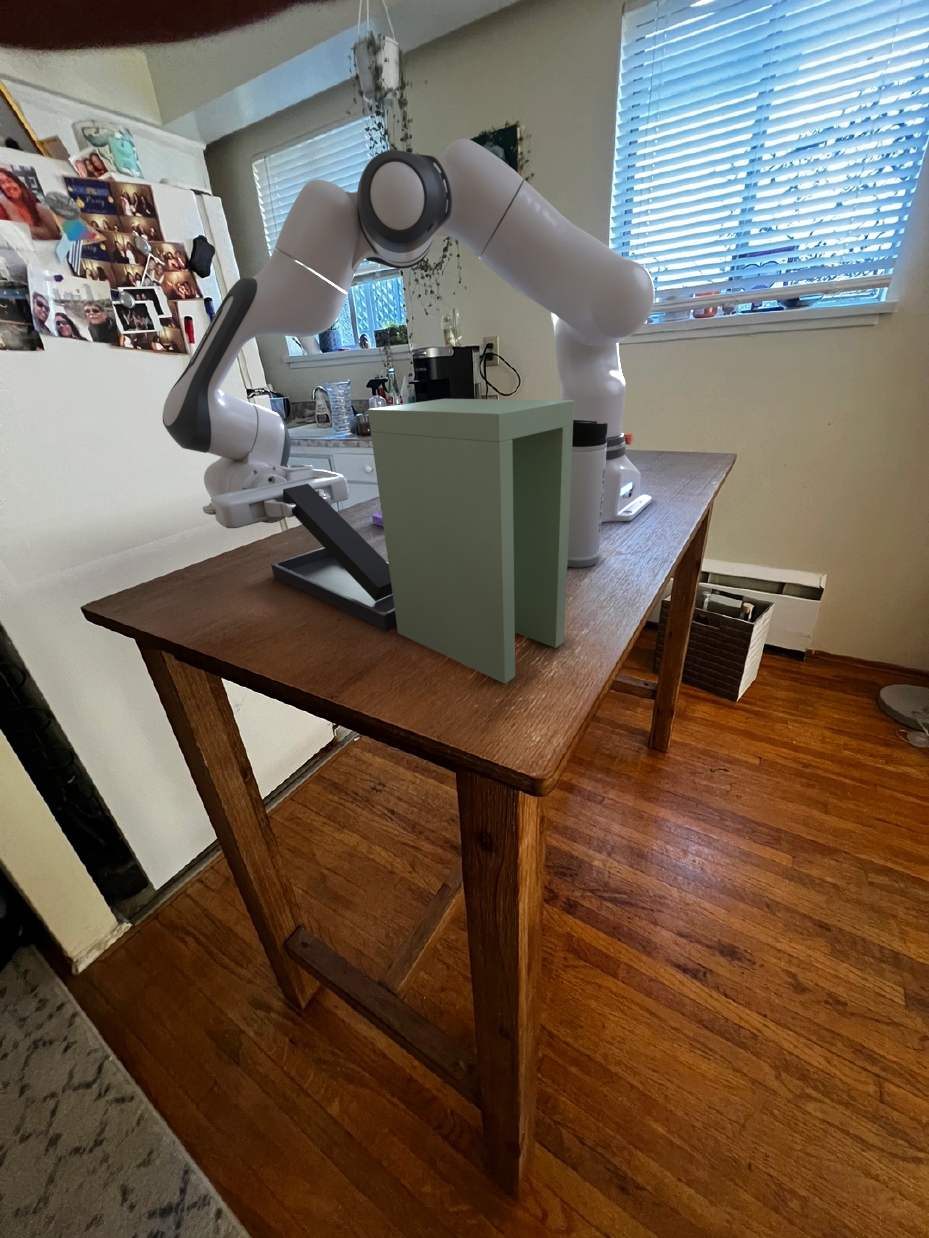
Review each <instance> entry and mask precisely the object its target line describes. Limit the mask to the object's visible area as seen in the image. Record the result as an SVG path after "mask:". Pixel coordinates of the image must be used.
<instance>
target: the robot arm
mask: <svg viewBox="0 0 929 1238" xmlns="http://www.w3.org/2000/svg"><path fill="white" fill-rule="evenodd" d="M437 237H449V238H452V239H454V240H456V241H457V242H459V243H462V244H463V245H464V246H465V247H466V248H467V249H468V250H469V251H470V252H471V253H473V254H474V255H475V257H477V258H478V259H479V260H480V261H481V262H482V263H484V264H485V265H486V266H487V267H488V268H490V269H491V270H492V271H493V272H494V273H495V274H496V275H498V277H500V278H501V279H502V280H503V281H505V282H506V283H507V284H508V285H509V286H511V288H513V289H514V290H515V291H517V292H518V293H519V294H520V295H522V296H524V297H526V298H527V299H530V300H532V301H533V302H535V304H538V305H539V306H541V307H543V308H544V309H546V310H547V311H548V312H550V322H551V327H552V328H553V336H554V337H553V338H554V346H555V347H554V349H555V360H556V366H557V367H556V368H557V375H558V390H559V393H558V396H559V397H558V400H574V413H573V420H585V421H597V423H608V429H607V435H606V437H607V446H606V463H605V477H604V491H603V505H602V519H601V523H606V522H629V521H632V520H634V519H635V518H636V517H637V516H638V515H639V514H640V513H641V512H642V511H643V510H645V508H647V506H648V505H650V504H651V503H652V496H651V495H648V494H645V493H641V481H642V478H641V472H640V470H638V468H637V467H636V466H635V465H634V464H633V463H632V462H631V460H630V459H629V458H628V457H627V456H626V455H625V454H627V447H626V446H631V445H632V443H633V441H634V440H633V439H634V435H633V433H631V432H630V433H625V432H623V426H624V417H625V403H626V402H625V401H626V390H627V387H626V386H627V384H626V380H625V378H624V376H623V373H622V368H621V361H620V353H619V352H620V351H619V344H621V343H622V342H623V341H625V340H627V339H628V338H630V337H632V336H633V335H634V334H635V333H636V332H638V331H639V330H640V329H641V328H642V327H643V326H644V325H645V324H646V322H647V320H648V319H649V317H650V315H651V313H652V310H653V307H654V302H655V285H654V281H653V279H652V277H651V274H650V273H649V271H648V270H647V268H646V267H645V266H644V265H642V264H641V263H639V262H637V261H635V260H633V259H629V258H626V257H624V256H622V255H621V254H619V253H618V252H616V251H615V250H613V249H612V248H611V247H609V246H608V245H606V244H605V243H604V242H603V241H600V240H599V239H597V237H594V236H593V235H591V234H589V233H588V232H587V231H585V230H583V229H581V228H580V227H578V226H577V225H576V224H574V223H573V222H571V221H570V220H569V219H567V218H566V217H565V216H564V215H563V214H562V213H560V212H559V210H557V208H555V207H554V206H553V205H552V204H551V203H550V202H549V201H548V200H547V199H546V198H545V197H543V195H541V194H540V193H539V192H538V191H537V189H535V188H534V187H533V186H532V185H531V184H530V183H529V182H527V180H526V179H524V177H522V176H521V175H520V174H519V173H518V172H517V171H516V170H515V169H514V168H512V167H511V166H510V165H509V164H507V163H506V162H505V161H504V160H503V159H501V158H500V157H499V156H498V155H496V154H495V153H493V152H491V151H490V150H488V149H487V148H486V147H484V146H483V145H480V144H478V143H477V142H475V141H474V140H471V139H469V138H458V139H456V140H454V141H453V142H451V143H450V144H448V145H447V146H446V148H444V150H443V151H442V152H441V153H440V155H439V157H438V158H436V157H435V156H433V155H428V154H421V153H413V152H410V151H405V150H399V149H389V150H385V151H382V152H379V153H378V154H376V155H375V156H373V157H372V159H370V160H369V162H367V164H366V166H365V167H364V169H363V171H362V172H361V175H360V178H359V182H358V186H357V191H355V192H350V191H347V190H345V189H344V188H343V187H340V186H339V185H337V184H335V183H333V182H332V181H327V180H323V179H314V180H311V181H309V182H307V183H306V184H304V186H302V188H301V190H300V192H299V193H298V195H297V197H296V198H295V200H294V202H293V203H292V206H291V207H290V209H289V211H288V214H287V216H286V218H285V220H284V222H283V225H282V227H281V229H280V232H279V235H278V237H277V239H276V242H275V245H274V249H273V251H272V253H271V256H270V258H269V259H268V261H267V263H266V264H265V265H264V267H262V269H261V270H260V271H259V272H258V273H256V274H255V275H254V276H252V277H241V278H239V279H238V280H237V281H236V282H234V284H233V285H232V286H231V287H230V289H229V290H228V292H227V294H226V295H225V296H224V298H223V300H222V301H221V303H220V305H219V306H218V308H217V310H216V312H215V313H214V315H213V317H212V319H211V322H210V323H209V324H208V327H207V328H206V331H205V332H204V334H203V337H202V338H201V340H200V342H199V343H198V346H197V347H196V349H195V351H194V353H193V355H192V357H191V359H190V360H189V362H188V364H187V366H186V368H185V369H184V371H183V373H182V374H181V375H180V376H179V378H178V379H177V380H176V382H175V383H174V384H173V386H172V388H171V389H170V391H169V392H168V394H167V397H166V398H165V401H164V404H163V409H162V424H163V426H164V427H165V430H166V431H167V433H168V434H169V435H170V437H171V438H172V439H173V440H174V442H175V443H176V444H177V445H178V446H179V447H180V448H181V449H185V450H189V451H194V452H199V453H204V454H210V455H214V456H216V457H217V456H218V457H220V458H218V460H216V461H213V462H212V463H211V464H210V465H208V466H207V467H206V469H205V471H204V474H203V484H204V487H205V490H206V492H207V493H208V495H209V497H210V498H211V499H210V503H208V505H205V506H202V511H203V513H204V514H207V515H208V516H209V515H211V516H214V517H215V520H216V521H217V523H218V524H220V525H221V526H222V527H224V528H226V529H240V528H243V527H247V526H251V525H255V524H258V523H264V524H275V523H278V522H280V521H282V520H284V519H285V518H288V519H289V518H293V517H295V516H297V515H298V510H297V505H296V504H295V503H293V502H286V503H285V502H283V489H286V488H290V487H295V486H299V485H303V484H309V485H310V486H311V487H312V488H313V489H314V490H315V491H316V492H317V493H318V494H319V495H320V496H321V497H322V498H323V499H324V500H325V501H326V502H327V503H328V504H329V505H330V506H331V507H333V506H332V504H335V503H339V502H340V503H341V502H345V501H347V500H348V499H349V497H350V490H349V485H348V484H349V483H348V479H347V477H345V475H343V474H341V473H337V472H333V471H329V470H325V469H315V468H314V466H313V465H312V464H291V465H288V462H289V459H290V455H291V447H292V440H291V436H290V433H289V429H288V426H287V424H286V422H285V420H284V418H283V417H282V416H281V415H280V414H279V413H278V412H275V411H272V410H271V409H268V408H265V407H263V406H261V405H258V404H256V403H253V402H249V401H247V400H243V399H241V398H239V397H236V396H234V395H231V394H229V393H226V392H224V391H222V390H220V388H221V386H222V385H223V383H224V381H225V379H226V377H227V376H228V374H229V372H230V371H231V368H232V367H233V365H234V363H235V362H236V359H237V357H238V355H239V354H240V352H241V350H242V349H243V348H244V346H245V345H246V344H247V343H248V342H249V341H251V340H253V339H254V338H258V337H260V336H271V335H272V336H284V337H292V338H293V337H294V338H309V337H314V336H317V335H320V334H322V333H325V332H326V331H328V330H329V329H330V328H331V327H333V325H334V323H335V322H336V321H337V319H338V317H339V316H340V313H341V311H342V308H343V307H344V304H345V301H346V298H347V296H348V293H349V291H350V288H351V285H352V282H353V280H354V277H355V275H356V273H357V271H358V269H359V267H360V266H361V264H362V263H364V261H368V262H372V263H376V264H380V265H383V266H386V267H389V268H392V269H399V270H400V269H401V270H405V269H409V268H412V267H415V266H417V265H418V264H419V263H421V262H422V261H424V259H425V258H426V257H427V256H428V254H429V251H430V249H431V247H432V246H433V243H434V241H435V238H437Z"/></svg>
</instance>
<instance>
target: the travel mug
mask: <svg viewBox="0 0 929 1238" xmlns="http://www.w3.org/2000/svg"><path fill="white" fill-rule="evenodd" d="M607 429H608V423H597V421H585V420H573V438H572V462H571V486H570V510H569V534H568V558H567V568H575V569H577V568H579V569H581V568H588V567H593V566H595V565H596V564H597V563H598V562H599V558H600V547H601V533H602V532H601V531H602V522H601V519H602V505H603V491H604V477H605V463H606V446H607V437H606V435H607Z"/></svg>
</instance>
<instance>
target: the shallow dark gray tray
mask: <svg viewBox="0 0 929 1238" xmlns="http://www.w3.org/2000/svg"><path fill="white" fill-rule="evenodd" d="M385 561H386V560H385ZM386 562H387V563H388V560H387V561H386ZM388 564H389V563H388ZM270 567H271V570H272V575H273V578H274V579H277V580H279V581H281V582H283V583H285V584H287V585H289V586H291V587H293V588H295V589H297V590H300V591H301V592H304V593H306V594H308V595H310V596H312V597H314V598H316V599H318V600H320V601H322V602H325V603H326V604H329V605H330V606H332V607H335V608H336V609H339V610H341V611H343V612H345V613H347V614H349V615H351V616H353V617H354V618H355V617H356V618H357V619H360V620H362V621H363V622H366V623H368V624H370V625H372V626H374V627H376V628H378V629H380V630H383V631H384V632H388V631H390V630H391V629H395V628H397V622H396V615H395V607H394V600H393V594H392V595H389V596H387V597H385V598H383V599H380V600H378V601H375V600H374V599H373V598H372V597H371V596H370V595H369V594H368V593H367V592H366V591H365V590H364V589H363V588H362V587H361V586H360V585H359V584H358V583H357V581H356V580H355V579H354V578H353V577H352V576H351V575H350V574H349V573H348V572H347V571H346V570H345V569H344V568H343V567H342V566H341V565H340V563H339V562H338V561H337V560H336V559H335V558H334V557H333V556H332V555H331V554H330V553H329V552H328V551H327V550H326V549H325V548H324V547H323V546H322V547H320V548H317V549H314V550H310V551H308V552H304V553H301V554H299V555H296V556H292V557H289V558H286V559H283V560H279V561H276V562H274V563H271V564H270Z"/></svg>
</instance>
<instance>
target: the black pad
mask: <svg viewBox="0 0 929 1238" xmlns="http://www.w3.org/2000/svg"><path fill="white" fill-rule="evenodd" d="M283 502H285V503H286V502H293V503H295V504H296V505H297V510H298V515H297V516H294V518H295V519H297V520H298V521H299V523H301V524H302V525H303V527H305V529H306V530H307V531H308V532H309V533H310V534H311V535H312V536H313V538H315V540H316V541H317V542H319V544H320V545H321V546H322V548H323V547H324V548H325V549H326V550H327V551H328V552H329V553H330V554H331V555H332V556H333V557H334V558H335V559H336V560H337V561H338V562H339V563H340V565H341V566H342V567H343V568H344V569H345V570H346V571H347V572H348V573H349V574H350V575H351V576H352V577H353V578H354V579H355V580H356V581H357V583H358V584H359V585H360V586H361V587H362V588H363V589H364V590H365V591H366V592H367V593H368V594H369V595H370V596H371V597H372V598H373V599H374V600H375V601H378V600H380V599H383V598H385V597H387V596H389V595H392V594H393V593H392V585H391V578H390V570H389V564H388V563H387V562H388V561H387V562H386V560H385V559H384V557H382V555H381V554H379V552H377V551H376V550H375V548H374V547H372V545H371V544H369V543H368V542H367V541H366V539H364V537H362V536H361V534H359V532H357V531H356V529H354V528H353V526H351V525H350V524H349V522H347V521H346V520H345V519H344V517H342V516H341V515H340V514H339V513H338V511H336V509H335V508H333V506H330V505H329V504H328V503H327V502H326V501H325V500H324V499H323V498H322V497H321V496H320V495H319V494H318V493H317V492H316V491H315V490H314V489H313V488H312V487H311V486H310V485H309V484H303V485H299V486H295V487H290V488H286V489H283Z"/></svg>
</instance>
